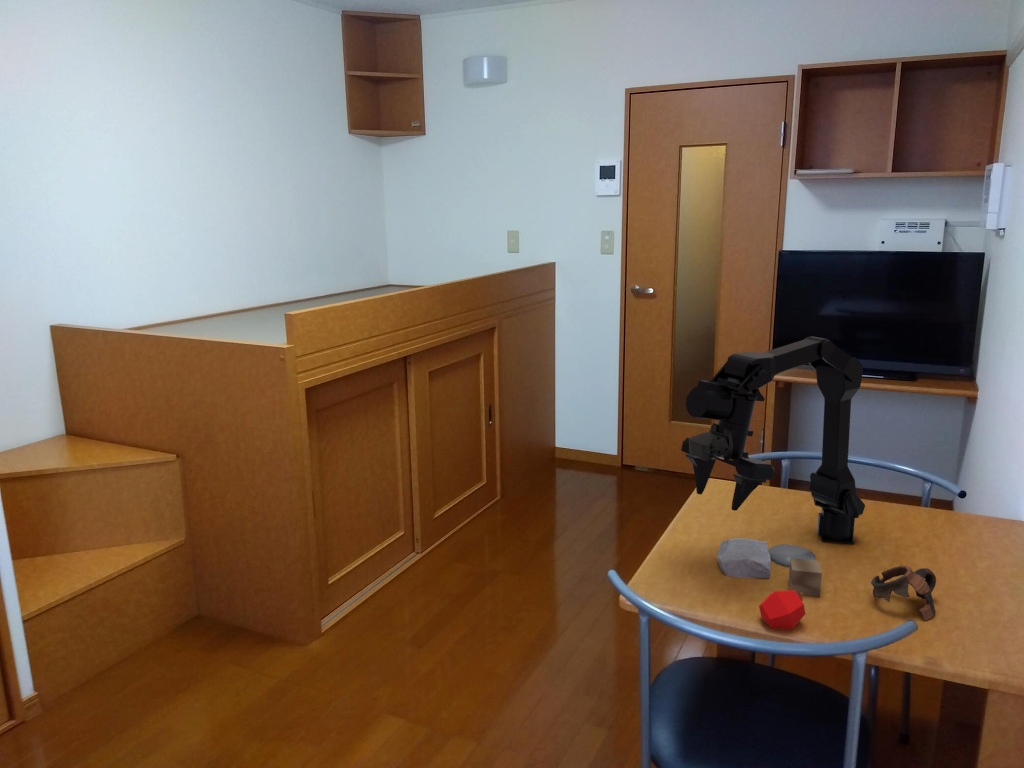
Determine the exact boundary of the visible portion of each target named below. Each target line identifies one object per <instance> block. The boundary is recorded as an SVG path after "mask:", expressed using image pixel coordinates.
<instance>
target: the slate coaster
mask: <svg viewBox="0 0 1024 768" xmlns="http://www.w3.org/2000/svg"><path fill="white" fill-rule="evenodd" d="M768 552H769V554H770V559H771V562H772V563H775V564H776V565H779V566H783V567H785V568H789V566H790V558H795V559H806V560H817V556H816V554H815V553H814V552H813V551H812V550H811V549H808V548H806V547H803V546H801V545H800V546H799V545H795V544H786V543H785V544H776V545H773V546H771V547H769V548H768Z"/></svg>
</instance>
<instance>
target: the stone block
mask: <svg viewBox="0 0 1024 768" xmlns="http://www.w3.org/2000/svg"><path fill="white" fill-rule="evenodd" d="M768 551H769V548H768V542H767V541H766V540H764V541H760V540H756V539H751V538H743V537H741V538H740V537H735V538H731V539H730V538H729V539H726V540H722V542H720V545H719V548H718V552H717V561H718V566H719V569H721V571H722V573H724V574H725V576H727V577H733V578H738V579H739V578H741V579H742V578H745V579H747V578H748V579H749V578H752V579H763V580H768V579H770V577H771V571H772V570H771V569H772V561H771V559H770V554H769V552H768Z"/></svg>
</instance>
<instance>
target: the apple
mask: <svg viewBox="0 0 1024 768" xmlns="http://www.w3.org/2000/svg"><path fill="white" fill-rule="evenodd" d="M803 601H804V596H803V593H800V594H799V596H798V594H797V593H796V591H795V590H792V591H790V590H776V591H772V592H770V593H769V594H768V595H767V596H766V598H764V600H763V601H762V602H761V603H760V604H759V606H758V608H759V612H760V617H761V619H762V620H763V621H764V622H765V623H766V624H767V625H768V626H769V627H770V628H771V629H772V630H773V629H774V630H779V629H781V630H793V629H794V628H795V627H796V626H797V625H798V623H799V622H800V621H801V620H802V618H803V617H804V616H805V615H806V611H805V610H806V609H805V605H804V602H803Z"/></svg>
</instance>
